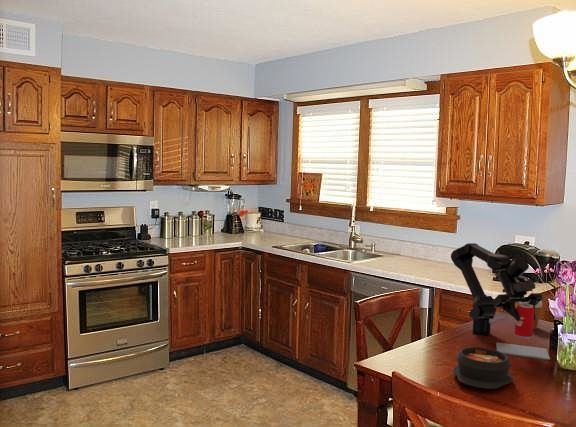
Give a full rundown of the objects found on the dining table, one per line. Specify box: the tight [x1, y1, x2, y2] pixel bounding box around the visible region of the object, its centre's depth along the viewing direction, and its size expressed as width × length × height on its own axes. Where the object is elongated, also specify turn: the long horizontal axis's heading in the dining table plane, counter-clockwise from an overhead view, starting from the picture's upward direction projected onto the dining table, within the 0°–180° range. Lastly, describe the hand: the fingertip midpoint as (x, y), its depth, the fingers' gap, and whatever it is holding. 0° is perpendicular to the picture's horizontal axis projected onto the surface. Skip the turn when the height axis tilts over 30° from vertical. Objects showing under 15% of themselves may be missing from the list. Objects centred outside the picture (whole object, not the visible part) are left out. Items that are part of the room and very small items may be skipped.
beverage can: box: [513, 302, 534, 339], centre depth 202 cm, size 6×6×12 cm
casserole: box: [452, 346, 514, 390], centre depth 176 cm, size 25×19×8 cm
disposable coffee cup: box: [518, 300, 543, 330], centre depth 237 cm, size 10×10×12 cm
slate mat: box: [495, 342, 551, 361], centre depth 204 cm, size 18×12×1 cm, turn 70°
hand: (526, 320), depth 201 cm, fingers closed on beverage can, 6 cm apart
